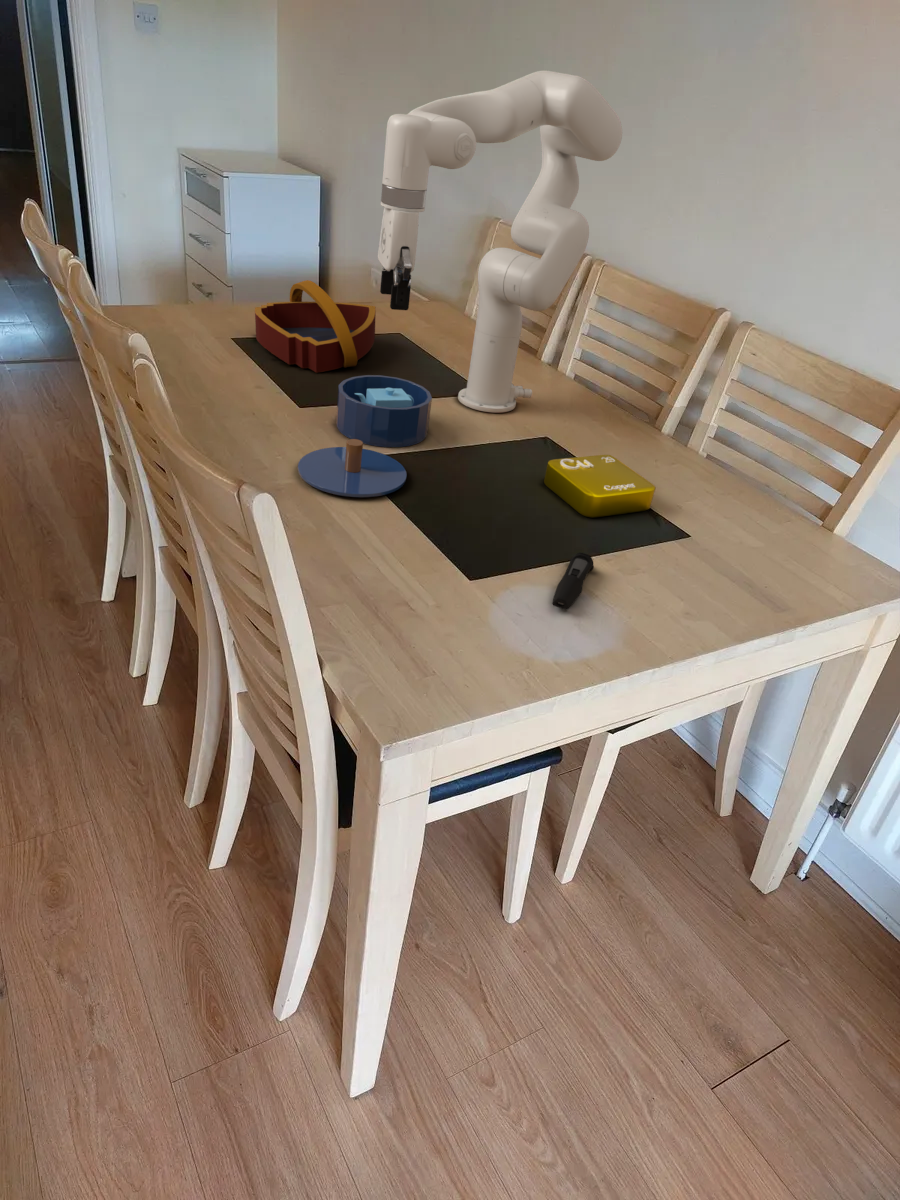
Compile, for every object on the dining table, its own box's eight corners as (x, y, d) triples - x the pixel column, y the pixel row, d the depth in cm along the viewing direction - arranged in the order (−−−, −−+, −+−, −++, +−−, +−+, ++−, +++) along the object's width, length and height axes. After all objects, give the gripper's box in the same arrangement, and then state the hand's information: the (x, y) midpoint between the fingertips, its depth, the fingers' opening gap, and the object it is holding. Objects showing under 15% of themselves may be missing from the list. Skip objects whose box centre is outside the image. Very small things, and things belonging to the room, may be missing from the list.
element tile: (585, 519, 147) (592, 494, 145) (539, 481, 158) (544, 457, 155) (654, 510, 154) (661, 486, 151) (605, 474, 165) (610, 450, 162)
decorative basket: (242, 334, 212) (233, 271, 203) (354, 317, 222) (350, 256, 213) (280, 386, 188) (272, 318, 179) (405, 364, 198) (402, 298, 188)
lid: (378, 448, 160) (381, 417, 157) (424, 493, 148) (428, 460, 144) (281, 458, 152) (282, 424, 148) (322, 506, 139) (324, 471, 135)
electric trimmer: (543, 612, 122) (547, 593, 120) (570, 562, 134) (574, 545, 132) (569, 620, 121) (573, 601, 119) (594, 569, 133) (598, 552, 131)
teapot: (356, 433, 164) (359, 394, 160) (347, 420, 169) (350, 383, 165) (415, 431, 168) (420, 394, 164) (405, 419, 173) (409, 383, 169)
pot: (402, 408, 179) (405, 373, 175) (443, 443, 167) (448, 406, 163) (322, 414, 171) (324, 377, 167) (359, 451, 158) (362, 412, 154)
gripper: (372, 187, 152) (365, 287, 162) (391, 206, 139) (381, 314, 148) (414, 191, 154) (404, 290, 164) (436, 210, 141) (424, 317, 150)
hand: (393, 301), depth 156 cm, fingers open, 9 cm apart
